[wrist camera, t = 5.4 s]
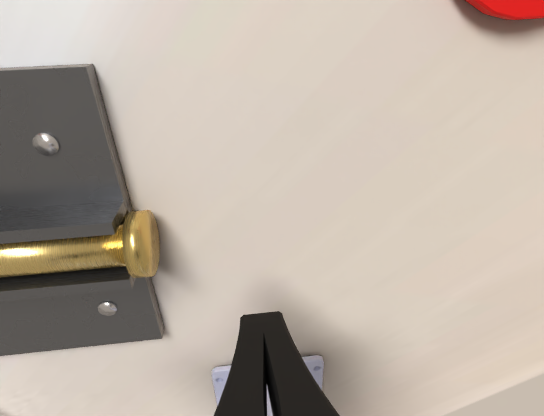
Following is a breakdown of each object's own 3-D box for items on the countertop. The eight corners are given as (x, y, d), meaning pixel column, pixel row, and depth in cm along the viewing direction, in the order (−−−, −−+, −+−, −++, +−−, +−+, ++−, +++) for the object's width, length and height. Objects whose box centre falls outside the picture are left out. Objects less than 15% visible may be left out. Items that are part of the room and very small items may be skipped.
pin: (162, 249, 19) (151, 290, 16) (-89, 271, 18) (-147, 319, 15) (150, 198, 17) (135, 234, 15) (-127, 219, 16) (-199, 262, 14)
